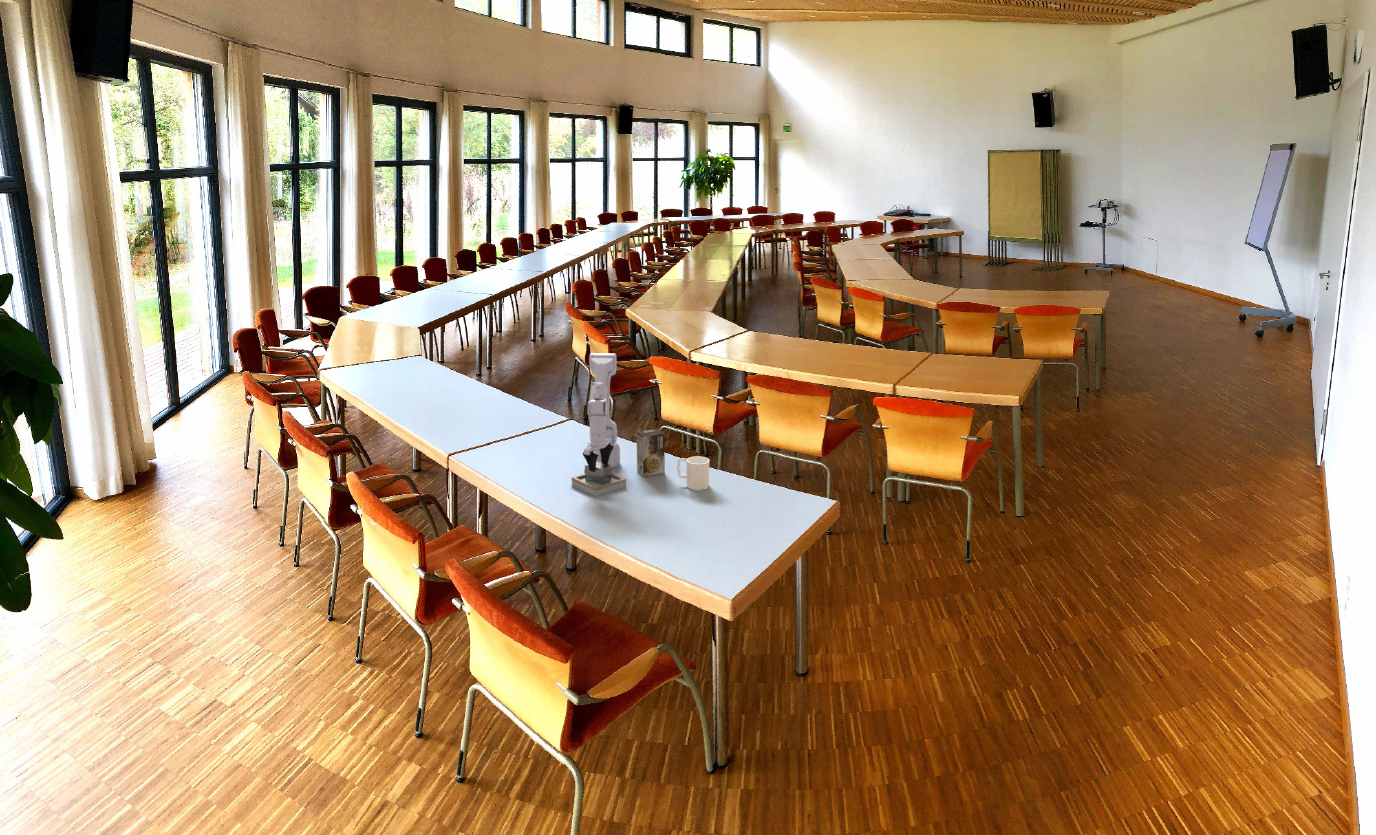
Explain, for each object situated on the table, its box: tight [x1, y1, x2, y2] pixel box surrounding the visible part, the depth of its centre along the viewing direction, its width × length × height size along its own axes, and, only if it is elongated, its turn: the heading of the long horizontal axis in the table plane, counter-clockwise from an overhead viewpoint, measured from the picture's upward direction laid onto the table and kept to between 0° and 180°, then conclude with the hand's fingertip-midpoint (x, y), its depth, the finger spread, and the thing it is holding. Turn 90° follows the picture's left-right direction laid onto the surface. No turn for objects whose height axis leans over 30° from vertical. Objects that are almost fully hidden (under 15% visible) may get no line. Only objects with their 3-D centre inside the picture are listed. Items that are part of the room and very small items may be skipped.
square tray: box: [571, 471, 627, 497], centre depth 319 cm, size 14×14×3 cm
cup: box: [676, 455, 710, 491], centre depth 319 cm, size 8×12×10 cm
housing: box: [583, 462, 612, 485], centre depth 318 cm, size 9×5×6 cm, turn 60°
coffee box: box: [636, 428, 666, 478], centre depth 330 cm, size 9×6×16 cm
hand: (598, 467), depth 317 cm, fingers open, 7 cm apart
